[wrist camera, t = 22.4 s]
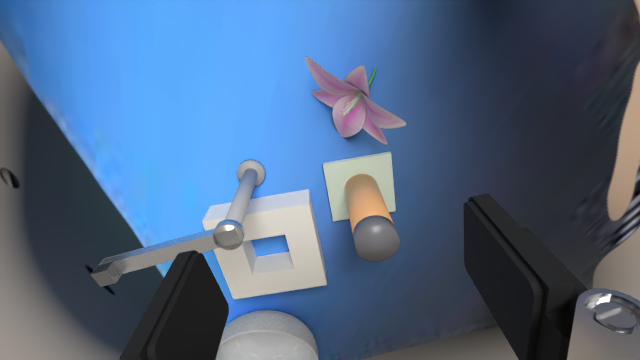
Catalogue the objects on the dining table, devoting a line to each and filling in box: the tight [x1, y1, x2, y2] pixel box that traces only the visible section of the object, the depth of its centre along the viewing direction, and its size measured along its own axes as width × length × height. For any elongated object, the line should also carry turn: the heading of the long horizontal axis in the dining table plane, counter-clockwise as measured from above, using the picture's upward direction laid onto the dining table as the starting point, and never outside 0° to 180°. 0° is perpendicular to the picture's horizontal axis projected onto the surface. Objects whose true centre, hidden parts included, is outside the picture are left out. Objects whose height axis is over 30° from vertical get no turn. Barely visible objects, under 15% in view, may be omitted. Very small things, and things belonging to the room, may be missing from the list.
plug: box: [344, 174, 400, 262], centre depth 39 cm, size 5×5×12 cm
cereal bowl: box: [216, 310, 319, 360], centre depth 53 cm, size 17×17×7 cm
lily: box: [305, 56, 406, 145], centre depth 35 cm, size 12×12×10 cm
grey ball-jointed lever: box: [91, 219, 245, 287], centre depth 30 cm, size 14×3×2 cm, turn 107°
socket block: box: [202, 159, 327, 299], centre depth 41 cm, size 14×20×13 cm
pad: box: [323, 152, 396, 221], centre depth 44 cm, size 9×9×1 cm
